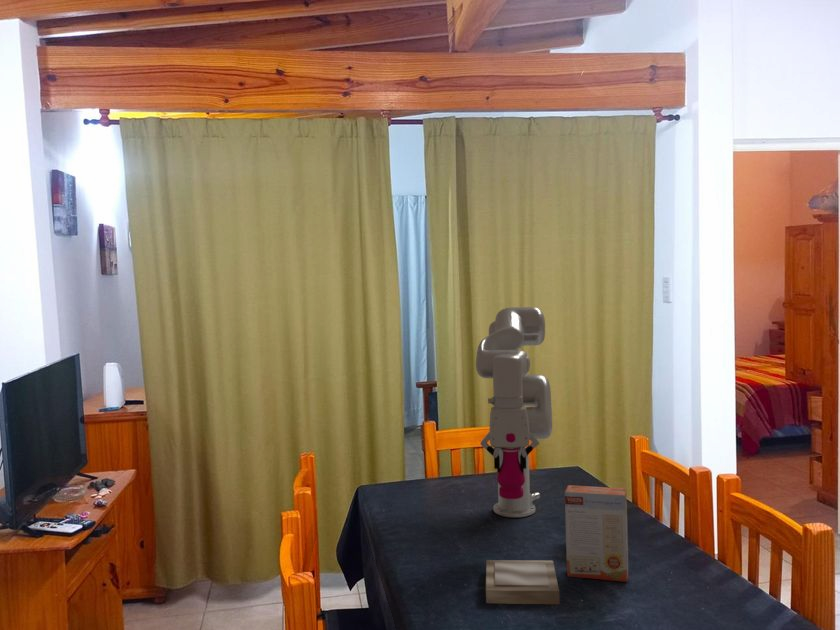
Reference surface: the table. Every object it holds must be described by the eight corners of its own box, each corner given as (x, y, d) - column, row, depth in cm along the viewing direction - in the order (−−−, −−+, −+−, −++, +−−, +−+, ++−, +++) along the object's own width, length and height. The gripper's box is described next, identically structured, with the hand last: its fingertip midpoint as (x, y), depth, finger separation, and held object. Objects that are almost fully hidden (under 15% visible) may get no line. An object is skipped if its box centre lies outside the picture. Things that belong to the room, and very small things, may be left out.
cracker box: (628, 572, 171) (627, 487, 170) (627, 583, 166) (625, 495, 164) (569, 566, 176) (567, 483, 174) (566, 577, 170) (564, 491, 169)
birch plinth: (486, 572, 174) (486, 558, 174) (553, 572, 173) (552, 558, 172) (486, 603, 158) (485, 588, 158) (559, 604, 157) (559, 589, 156)
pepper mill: (524, 500, 182) (523, 423, 180) (496, 499, 183) (494, 422, 181) (526, 491, 189) (525, 416, 187) (498, 490, 190) (497, 416, 188)
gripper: (474, 406, 181) (476, 476, 182) (543, 405, 179) (544, 475, 181) (475, 400, 188) (477, 467, 190) (541, 399, 187) (542, 466, 188)
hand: (510, 470), depth 185 cm, fingers closed on pepper mill, 5 cm apart
